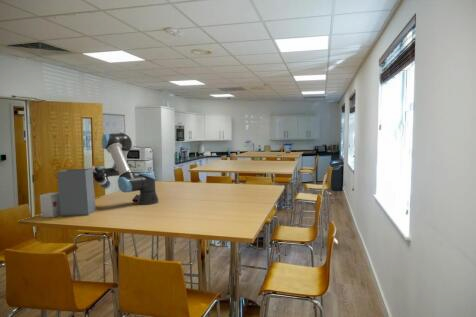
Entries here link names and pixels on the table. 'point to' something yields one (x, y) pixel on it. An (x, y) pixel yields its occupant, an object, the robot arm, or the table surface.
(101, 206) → the table surface
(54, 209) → the supplement box
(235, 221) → the table surface
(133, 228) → the table surface
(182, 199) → the table surface
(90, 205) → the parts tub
